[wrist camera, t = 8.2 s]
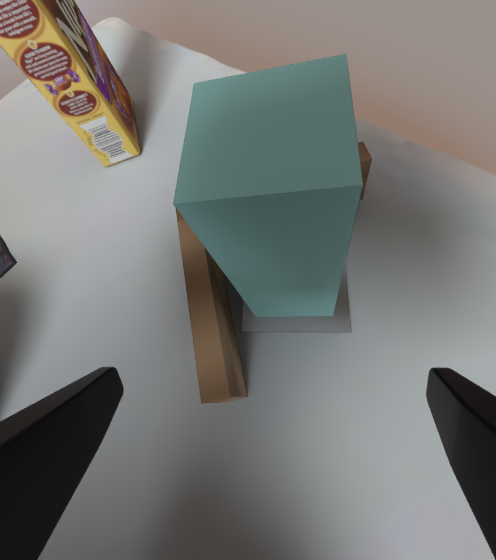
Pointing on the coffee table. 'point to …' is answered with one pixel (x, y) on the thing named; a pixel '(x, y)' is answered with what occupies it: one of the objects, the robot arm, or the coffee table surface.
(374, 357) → the coffee table surface
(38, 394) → the coffee table surface
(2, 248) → the dark gray book
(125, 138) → the candy box
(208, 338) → the corner arena
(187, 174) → the teal block
